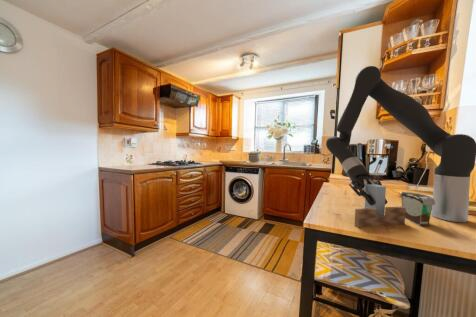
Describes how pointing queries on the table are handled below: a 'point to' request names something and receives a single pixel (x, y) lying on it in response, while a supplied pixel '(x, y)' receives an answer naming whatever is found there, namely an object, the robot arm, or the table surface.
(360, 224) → the walnut board
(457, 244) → the table surface
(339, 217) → the table surface
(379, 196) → the slate block
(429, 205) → the food container
